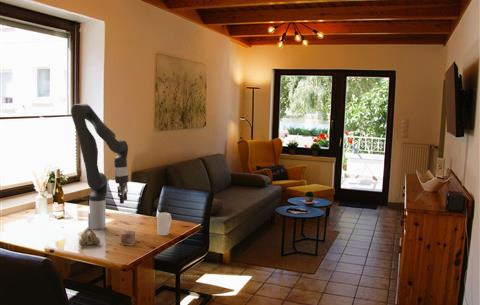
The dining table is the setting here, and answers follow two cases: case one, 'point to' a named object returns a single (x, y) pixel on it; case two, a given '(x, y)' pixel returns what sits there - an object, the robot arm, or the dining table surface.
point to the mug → (163, 223)
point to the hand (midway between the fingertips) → (123, 201)
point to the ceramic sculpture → (89, 237)
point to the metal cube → (127, 237)
